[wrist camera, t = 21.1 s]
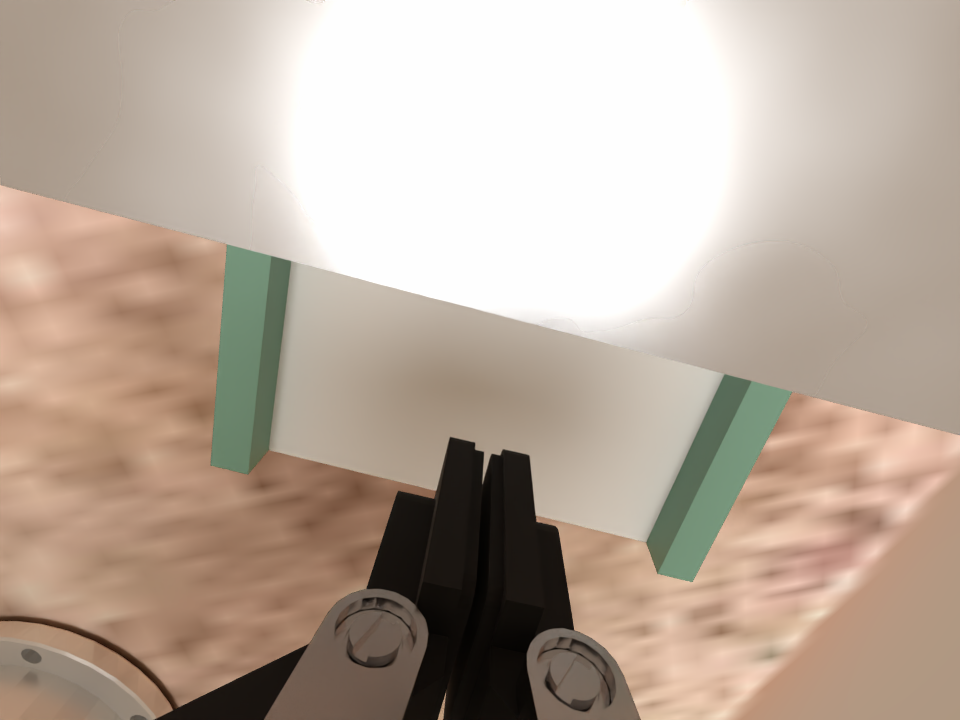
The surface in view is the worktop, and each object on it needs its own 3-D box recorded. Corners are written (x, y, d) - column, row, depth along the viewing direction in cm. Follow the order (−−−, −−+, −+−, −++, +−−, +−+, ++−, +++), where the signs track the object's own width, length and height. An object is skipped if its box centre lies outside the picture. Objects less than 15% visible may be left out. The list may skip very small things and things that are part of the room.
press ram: (739, 280, 15) (1131, 479, 6) (330, 170, 14) (-1, 184, 5) (864, 1, 12) (1962, -497, 3) (374, -145, 12) (-119, -1274, 3)
